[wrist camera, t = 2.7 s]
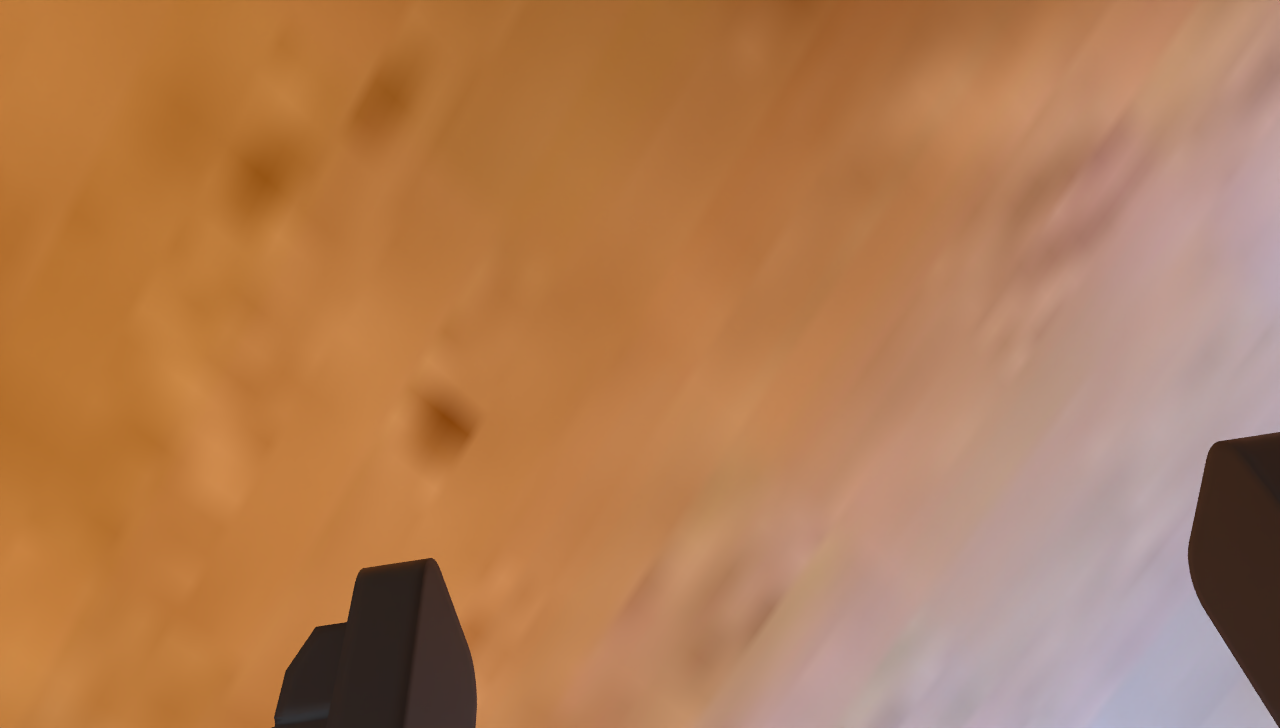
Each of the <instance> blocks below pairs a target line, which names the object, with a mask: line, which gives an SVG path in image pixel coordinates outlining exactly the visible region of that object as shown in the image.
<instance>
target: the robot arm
mask: <svg viewBox="0 0 1280 728" xmlns="http://www.w3.org/2000/svg"><path fill="white" fill-rule="evenodd" d="M1188 562H1189V569H1190V574H1191V579H1192V582H1193V586H1194V589H1195V591H1196V594H1197V596H1198V599H1199V601H1200V603H1201V605H1202V606H1203V608H1204V610H1205V611H1206V613H1207V615H1208V616H1209V618H1210V619H1211V621H1212V622H1213V624H1214V626H1215V627H1216V629H1217V630H1218V632H1219V634H1220V635H1221V637H1222V638H1223V640H1224V641H1225V643H1226V645H1227V646H1228V648H1229V649H1230V651H1231V653H1232V654H1233V656H1234V657H1235V659H1236V660H1237V662H1238V664H1239V665H1240V667H1241V668H1242V670H1243V672H1244V673H1245V675H1246V676H1247V678H1248V679H1249V681H1250V683H1251V684H1252V686H1253V687H1254V689H1255V691H1256V692H1257V694H1258V695H1259V697H1260V698H1261V700H1262V702H1263V703H1264V705H1265V706H1266V708H1267V710H1268V711H1269V713H1270V714H1271V716H1272V717H1273V719H1274V721H1275V722H1276V724H1277V725H1278V727H1279V728H1280V432H1278V433H1271V434H1264V435H1258V436H1251V437H1245V438H1238V439H1231V440H1225V441H1219V442H1216V443H1215V444H1213V446H1212V447H1211V448H1210V450H1209V452H1208V455H1207V459H1206V464H1205V469H1204V473H1203V478H1202V483H1201V488H1200V493H1199V497H1198V502H1197V507H1196V512H1195V517H1194V521H1193V526H1192V531H1191V536H1190V541H1189V547H1188ZM476 712H477V693H476V680H475V673H474V666H473V661H472V657H471V653H470V650H469V647H468V644H467V641H466V639H465V636H464V633H463V630H462V628H461V625H460V622H459V619H458V617H457V614H456V611H455V609H454V606H453V603H452V600H451V598H450V595H449V592H448V589H447V587H446V584H445V581H444V579H443V576H442V573H441V571H440V568H439V566H438V564H437V562H436V561H435V560H434V559H433V558H428V559H421V560H415V561H408V562H402V563H395V564H388V565H382V566H375V567H369V568H363V569H361V570H360V572H359V573H358V575H357V578H356V582H355V586H354V591H353V596H352V601H351V606H350V611H349V616H348V621H347V622H345V623H339V624H332V625H325V626H319V627H315V629H314V630H313V632H312V633H311V635H310V636H309V638H308V639H307V641H306V642H305V644H304V645H303V646H302V648H301V649H300V651H299V652H298V654H297V655H296V657H295V658H294V660H293V661H292V663H291V664H290V665H289V667H288V668H287V670H286V672H285V676H284V680H283V684H282V688H281V692H280V696H279V700H278V704H277V708H276V712H275V716H274V719H275V727H272V728H475V726H476Z"/></svg>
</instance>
